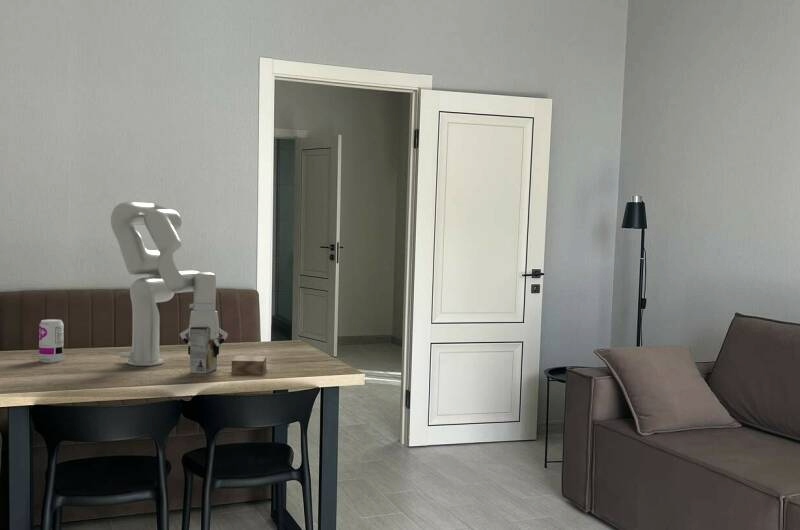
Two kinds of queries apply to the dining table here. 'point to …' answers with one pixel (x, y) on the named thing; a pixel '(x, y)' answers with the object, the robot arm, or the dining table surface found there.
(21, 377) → the dining table surface
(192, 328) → the coffee box
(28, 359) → the dining table surface
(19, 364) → the dining table surface
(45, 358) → the supplement can
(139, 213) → the robot arm
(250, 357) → the walnut block
